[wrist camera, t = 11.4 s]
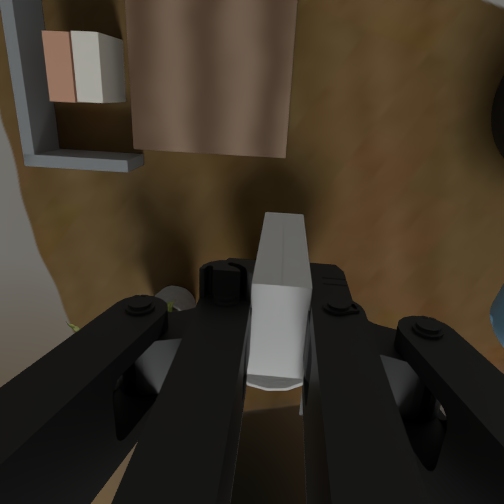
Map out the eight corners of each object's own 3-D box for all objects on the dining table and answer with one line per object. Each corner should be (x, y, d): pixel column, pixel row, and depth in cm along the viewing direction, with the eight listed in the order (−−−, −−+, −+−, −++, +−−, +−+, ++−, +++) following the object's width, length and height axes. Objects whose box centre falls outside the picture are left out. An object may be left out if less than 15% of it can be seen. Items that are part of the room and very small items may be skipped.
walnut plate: (297, -4, 39) (298, -12, 37) (285, 154, 45) (285, 158, 42) (135, -10, 40) (124, -18, 38) (143, 145, 46) (133, 148, 43)
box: (134, -36, 40) (113, -53, 35) (143, 164, 47) (128, 172, 42) (25, -39, 40) (-10, -56, 36) (50, 158, 47) (24, 165, 43)
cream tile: (97, 31, 37) (70, 30, 37) (103, 103, 39) (77, 101, 39) (122, 40, 42) (99, 38, 42) (126, 102, 44) (103, 100, 45)
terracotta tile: (68, 31, 37) (41, 30, 37) (75, 102, 39) (49, 101, 39) (97, 40, 42) (73, 38, 43) (101, 101, 45) (79, 100, 45)
